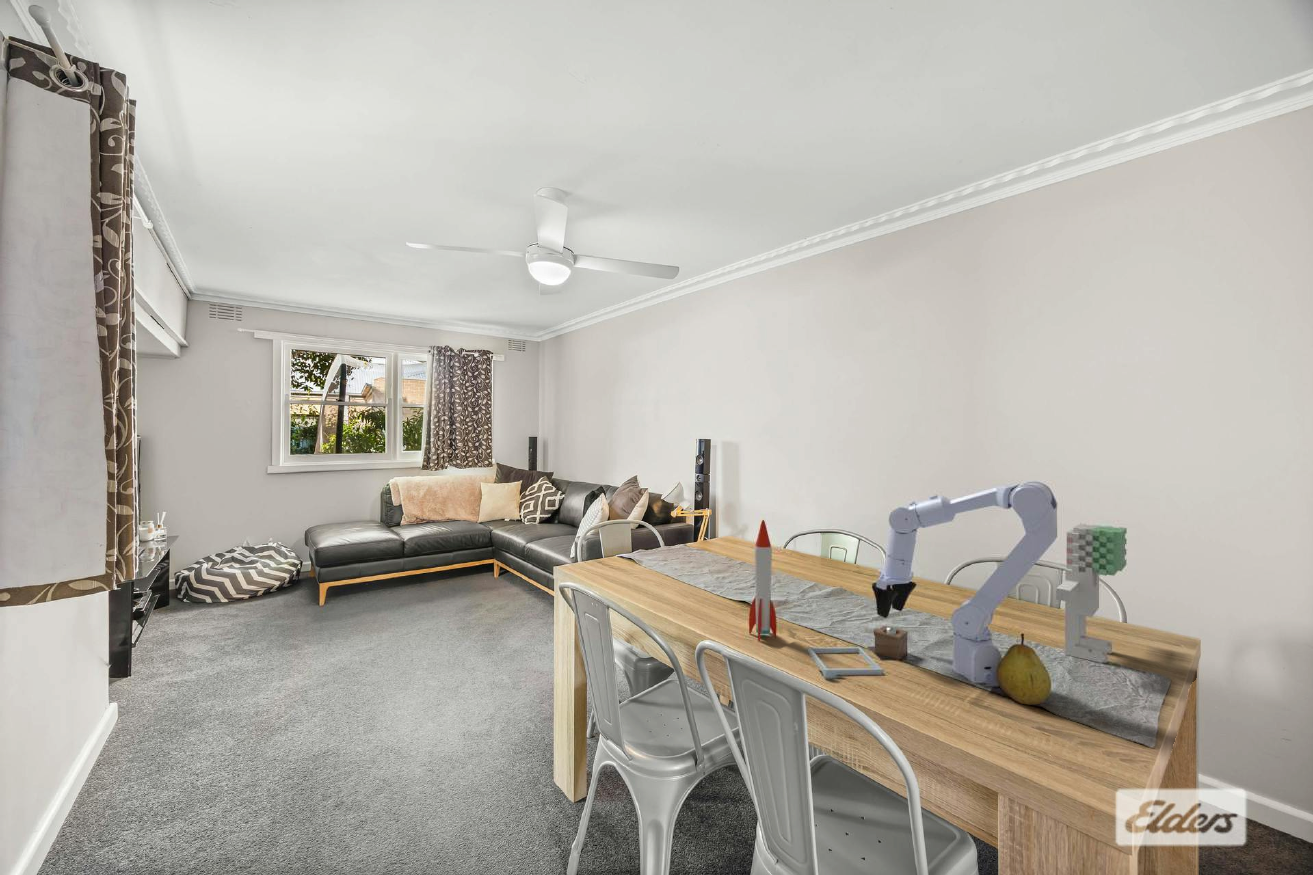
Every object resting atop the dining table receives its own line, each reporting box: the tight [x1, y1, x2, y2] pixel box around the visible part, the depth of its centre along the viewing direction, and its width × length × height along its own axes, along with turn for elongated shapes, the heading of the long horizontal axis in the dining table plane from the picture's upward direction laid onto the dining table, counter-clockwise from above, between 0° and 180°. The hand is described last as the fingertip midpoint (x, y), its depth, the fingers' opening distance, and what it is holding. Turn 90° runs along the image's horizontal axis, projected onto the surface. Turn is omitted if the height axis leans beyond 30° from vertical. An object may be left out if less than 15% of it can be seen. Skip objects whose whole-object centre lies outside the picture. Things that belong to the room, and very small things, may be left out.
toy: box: [1055, 523, 1127, 664], centre depth 129 cm, size 30×10×30 cm, turn 134°
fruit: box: [996, 633, 1052, 706], centre depth 108 cm, size 9×9×12 cm
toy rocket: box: [748, 519, 778, 642], centre depth 141 cm, size 6×6×30 cm
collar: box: [873, 625, 908, 661], centre depth 128 cm, size 5×6×5 cm
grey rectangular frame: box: [807, 646, 883, 680], centre depth 122 cm, size 12×12×2 cm
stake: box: [867, 626, 917, 661], centre depth 127 cm, size 8×8×7 cm
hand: (889, 612), depth 129 cm, fingers open, 7 cm apart
